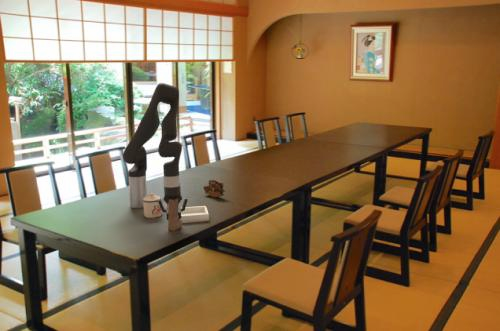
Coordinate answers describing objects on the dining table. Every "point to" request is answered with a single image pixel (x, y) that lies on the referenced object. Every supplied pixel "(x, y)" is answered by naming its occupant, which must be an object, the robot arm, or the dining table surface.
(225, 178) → the dining table surface
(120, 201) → the dining table surface
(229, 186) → the dining table surface
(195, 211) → the tray
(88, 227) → the dining table surface
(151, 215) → the teacup with lid
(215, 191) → the wooden carving
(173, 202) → the wooden block
